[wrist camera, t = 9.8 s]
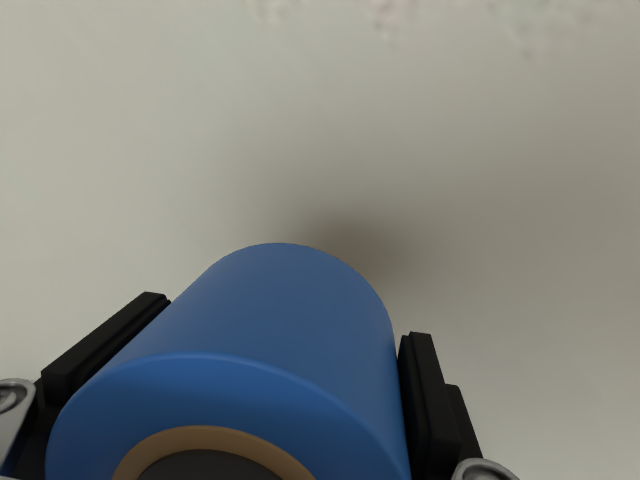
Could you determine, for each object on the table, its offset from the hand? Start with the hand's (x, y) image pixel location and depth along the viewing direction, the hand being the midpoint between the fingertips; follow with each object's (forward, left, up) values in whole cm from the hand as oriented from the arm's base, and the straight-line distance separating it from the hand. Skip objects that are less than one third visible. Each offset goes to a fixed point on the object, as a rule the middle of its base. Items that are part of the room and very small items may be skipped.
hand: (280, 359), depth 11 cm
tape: (0, 0, -1) cm, 1 cm away
